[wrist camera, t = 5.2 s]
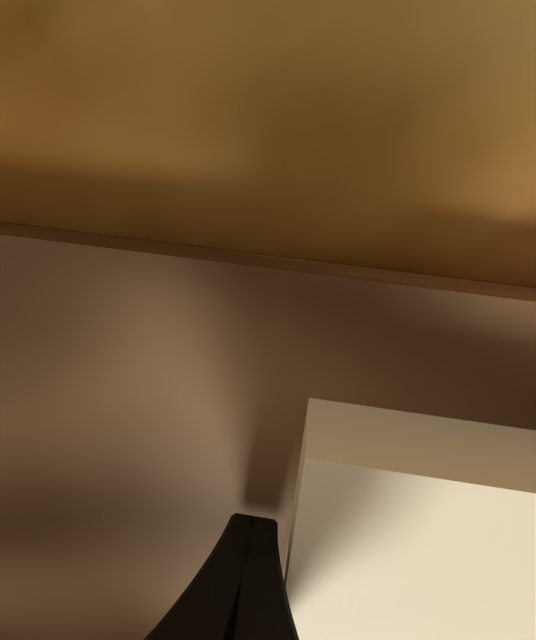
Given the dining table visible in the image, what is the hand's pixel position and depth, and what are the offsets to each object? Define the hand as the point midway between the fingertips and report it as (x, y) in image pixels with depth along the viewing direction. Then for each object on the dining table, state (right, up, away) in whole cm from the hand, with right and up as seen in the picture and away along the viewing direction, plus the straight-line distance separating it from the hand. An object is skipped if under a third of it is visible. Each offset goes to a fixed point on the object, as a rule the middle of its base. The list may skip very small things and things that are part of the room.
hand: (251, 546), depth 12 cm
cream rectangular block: (+4, 0, +1) cm, 4 cm away
